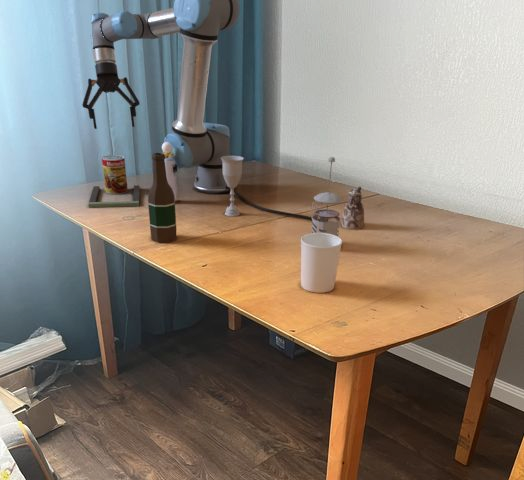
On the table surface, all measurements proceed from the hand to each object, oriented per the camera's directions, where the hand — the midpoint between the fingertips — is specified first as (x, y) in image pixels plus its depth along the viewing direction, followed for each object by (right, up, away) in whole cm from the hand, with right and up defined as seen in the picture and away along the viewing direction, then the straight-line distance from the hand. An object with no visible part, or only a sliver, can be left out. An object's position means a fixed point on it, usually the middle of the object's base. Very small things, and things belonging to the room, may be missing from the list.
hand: (114, 127), depth 202 cm
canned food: (+1, -24, 0) cm, 24 cm away
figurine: (+83, -42, -25) cm, 97 cm away
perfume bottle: (+22, -30, -9) cm, 39 cm away
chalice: (+44, -37, -19) cm, 61 cm away
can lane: (+2, -28, -7) cm, 29 cm away
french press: (+72, -51, -41) cm, 97 cm away
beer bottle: (+25, -49, -40) cm, 69 cm away
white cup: (+68, -66, -65) cm, 115 cm away
